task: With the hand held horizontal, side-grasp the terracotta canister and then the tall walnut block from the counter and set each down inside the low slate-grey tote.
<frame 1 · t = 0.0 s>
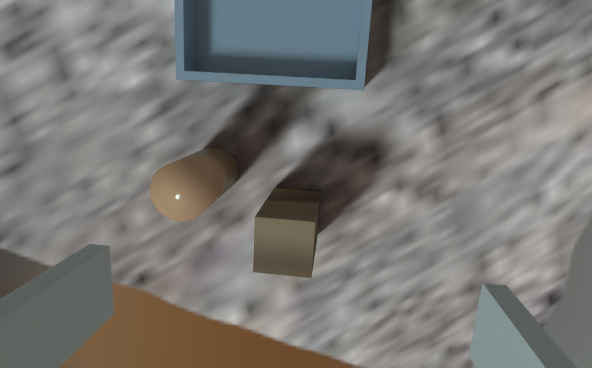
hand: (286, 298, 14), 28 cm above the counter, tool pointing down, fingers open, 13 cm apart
walnut block: (296, 211, 42), on the counter
tote: (276, 12, 38), on the counter
canister: (215, 169, 42), on the counter
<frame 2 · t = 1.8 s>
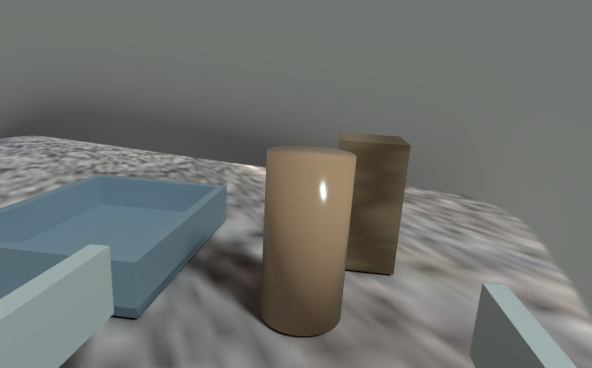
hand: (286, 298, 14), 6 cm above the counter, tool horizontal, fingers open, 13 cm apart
walnut block: (359, 257, 32), on the counter
tote: (113, 246, 32), on the counter
canister: (300, 310, 24), on the counter
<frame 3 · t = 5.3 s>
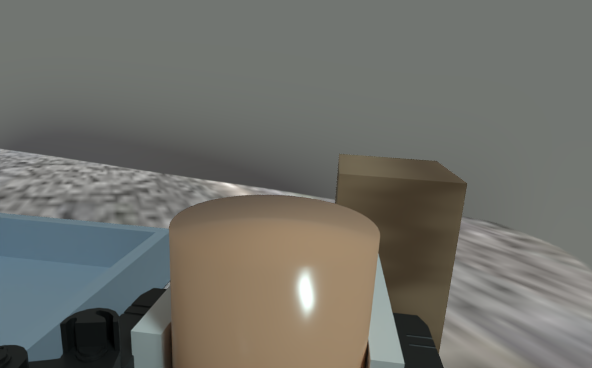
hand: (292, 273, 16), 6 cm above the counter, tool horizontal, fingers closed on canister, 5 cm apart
walnut block: (371, 354, 20), on the counter
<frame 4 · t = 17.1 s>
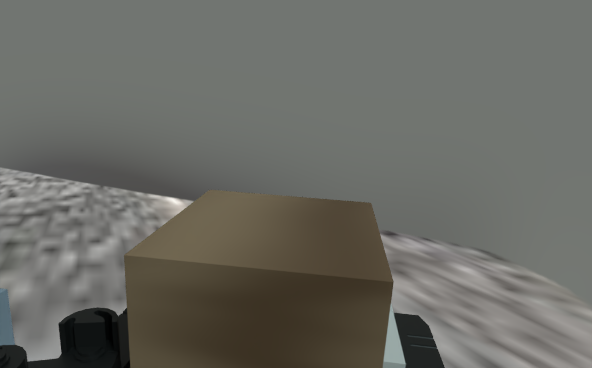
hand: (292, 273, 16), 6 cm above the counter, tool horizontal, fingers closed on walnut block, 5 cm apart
when the fingers open (8 cm above the counter, at t = 21.7 s): walnut block drops 2 cm, resting on tote.
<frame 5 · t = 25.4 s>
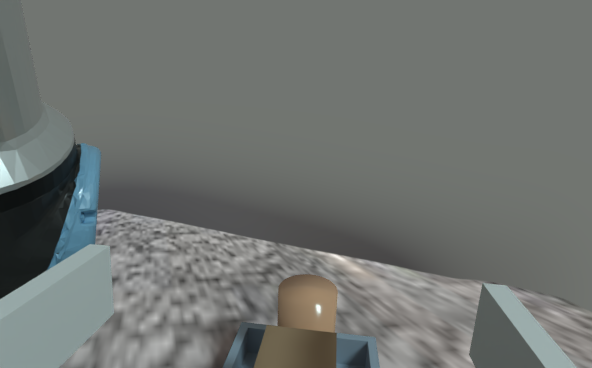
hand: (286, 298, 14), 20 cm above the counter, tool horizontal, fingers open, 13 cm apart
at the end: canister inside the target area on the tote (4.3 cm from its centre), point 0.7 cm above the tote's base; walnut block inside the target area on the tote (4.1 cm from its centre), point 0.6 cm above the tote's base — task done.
